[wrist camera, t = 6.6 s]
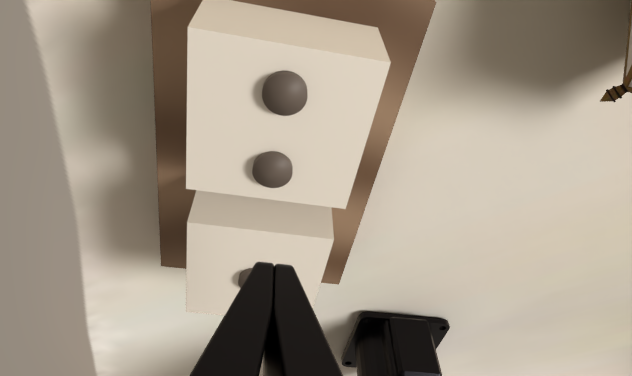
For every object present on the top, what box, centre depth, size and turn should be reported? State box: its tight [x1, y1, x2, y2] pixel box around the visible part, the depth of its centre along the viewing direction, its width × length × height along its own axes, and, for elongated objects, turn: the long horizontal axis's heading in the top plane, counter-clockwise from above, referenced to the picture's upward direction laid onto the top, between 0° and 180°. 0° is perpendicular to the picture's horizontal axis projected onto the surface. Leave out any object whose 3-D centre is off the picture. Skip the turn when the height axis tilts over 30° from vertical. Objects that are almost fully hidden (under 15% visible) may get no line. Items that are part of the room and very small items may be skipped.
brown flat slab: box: [151, 0, 436, 284], centre depth 21 cm, size 16×10×2 cm, turn 169°
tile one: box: [186, 190, 334, 315], centre depth 21 cm, size 6×6×3 cm
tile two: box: [186, 0, 391, 209], centre depth 16 cm, size 6×6×3 cm
